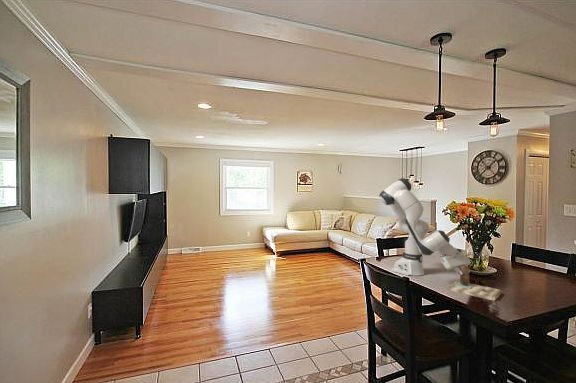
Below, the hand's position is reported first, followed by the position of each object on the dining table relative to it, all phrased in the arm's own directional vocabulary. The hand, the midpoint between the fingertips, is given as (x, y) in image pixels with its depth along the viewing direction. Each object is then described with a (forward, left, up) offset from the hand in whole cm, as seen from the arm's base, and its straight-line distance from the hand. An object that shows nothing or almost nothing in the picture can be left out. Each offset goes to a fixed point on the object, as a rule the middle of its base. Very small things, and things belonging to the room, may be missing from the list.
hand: (465, 273), depth 164 cm
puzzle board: (+4, 0, -10) cm, 11 cm away
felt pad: (-1, 0, -7) cm, 7 cm away
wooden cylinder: (-1, 0, -6) cm, 6 cm away
